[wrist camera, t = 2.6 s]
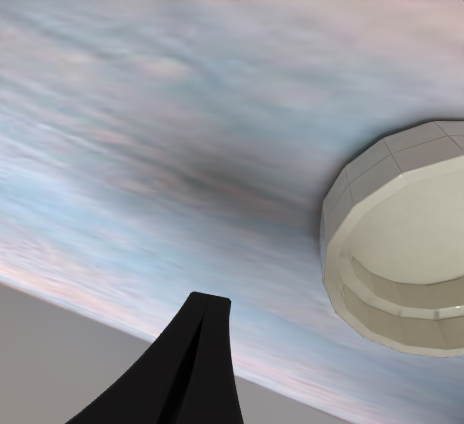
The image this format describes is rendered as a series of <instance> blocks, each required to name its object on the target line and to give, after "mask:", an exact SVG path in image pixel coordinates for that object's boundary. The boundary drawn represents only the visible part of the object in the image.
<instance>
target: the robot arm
mask: <svg viewBox="0 0 464 424" xmlns="http://www.w3.org/2000/svg"><path fill="white" fill-rule="evenodd" d="M230 308H231V300H230V299H229V298H225V297H220V296H215V295H210V294H205V293H200V292H195V291H194V292H192V293H190V295H189V297H188V298H187V300H186V301H185V303H184V304H183V306H182V307H181V309H180V310H179V311H178V313H177V314H176V315H175V317H174V318H173V319H172V321H171V322H170V323H169V325H168V326H167V327H166V328H165V329H164V331H163V332H162V333H161V334H160V336H159V337H158V338H157V339H156V340H155V341H154V343H153V344H152V345H151V346H150V347H149V348H148V349H147V350H146V351H145V353H144V354H143V355H142V356H141V357H140V358H139V359H138V360H137V361H136V362H135V363H134V364H133V365H132V366H131V367H130V368H129V369H128V370H127V371H126V372H125V373H124V374H123V375H122V376H121V377H120V378H119V379H118V380H117V381H116V382H115V383H113V384H112V385H111V386H110V387H109V388H108V389H107V390H106V391H104V392H103V393H102V394H101V395H100V396H99V397H98V398H97V399H95V400H94V401H93V402H92V403H91V404H90V405H88V406H87V407H86V408H85V409H83V410H82V411H81V412H80V413H78V414H77V415H76V416H74V417H73V418H72V419H70V420H69V421H68V422H66V423H65V424H244V423H243V418H242V415H241V410H240V405H239V401H238V396H237V391H236V385H235V379H234V373H233V366H232V358H231V348H230V336H229V315H230Z"/></svg>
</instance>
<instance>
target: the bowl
mask: <svg viewBox="0 0 464 424" xmlns="http://www.w3.org/2000/svg"><path fill="white" fill-rule="evenodd" d="M319 240H320V254H321V267H322V281H323V284H324V287H325V289H326V291H327V294H328V296H329V298H330V301H331V303H332V306H333V308H334V310H335V313H336V314H337V315H338V316H339V317H341V318H342V319H343V320H344V321H345V322H346V323H347V324H349V325H350V326H351V327H352V328H353V329H354V330H355V331H357V332H358V333H359V334H360V335H361V336H362V337H364V338H366V339H369V340H371V341H374V342H376V343H379V344H381V345H384V346H386V347H389V348H391V349H394V350H396V351H399V352H402V353H409V354H418V355H427V356H436V357H445V358H447V357H456V356H464V121H434V122H429V123H426V124H423V125H420V126H417V127H414V128H411V129H408V130H405V131H402V132H399V133H396V134H393V135H390V136H387V137H384V138H383V139H381V140H379V141H378V142H377V143H375V144H374V145H373V146H371V147H370V148H369V149H367V150H366V151H365V152H363V153H362V154H361V155H359V156H358V157H357V158H356V159H354V160H353V161H352V162H350V163H349V164H348V165H346V166H345V168H343V170H342V171H341V173H340V175H339V176H338V178H337V179H336V181H335V183H334V184H333V186H332V188H331V189H330V191H329V192H328V194H327V196H326V197H325V199H324V201H323V203H322V212H321V221H320V230H319Z"/></svg>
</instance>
